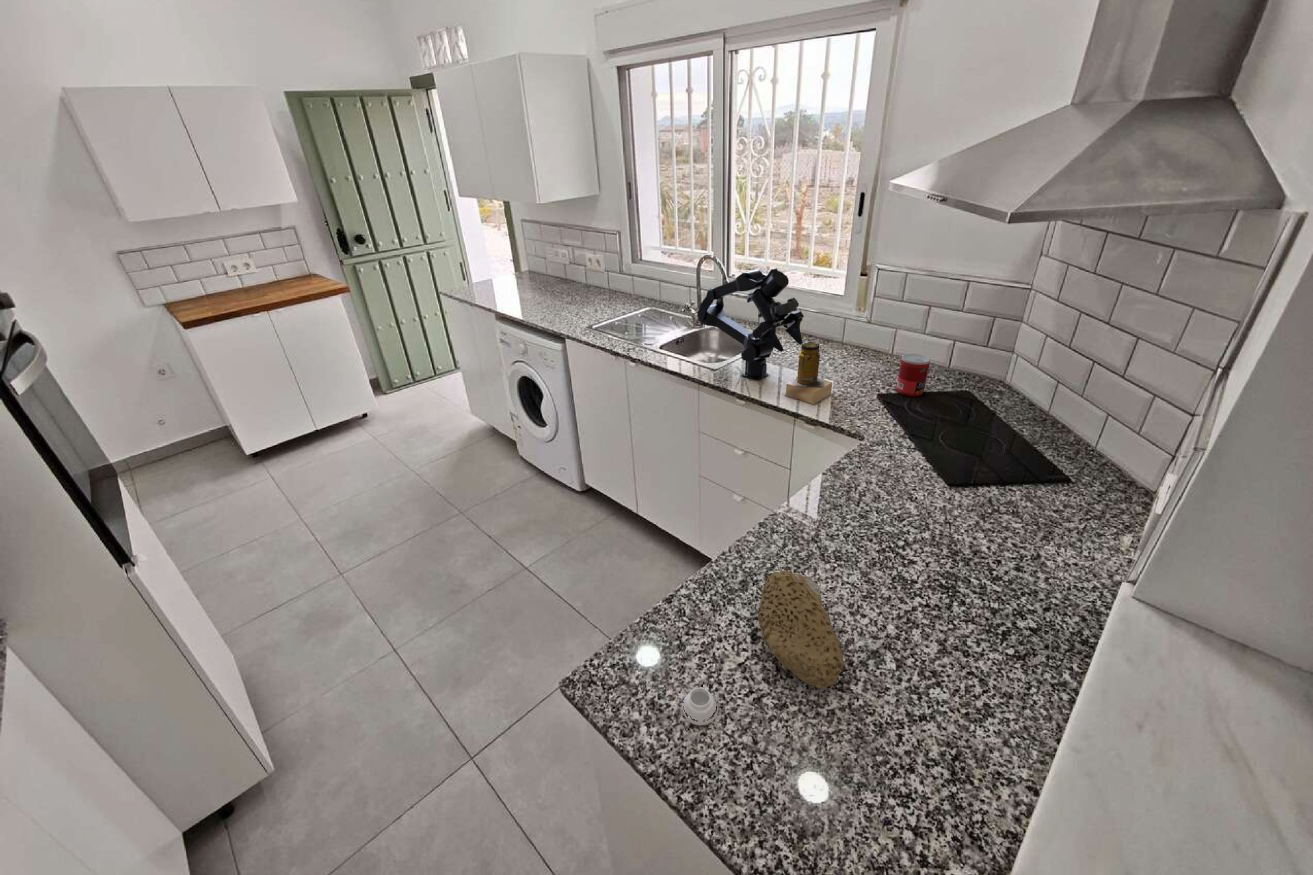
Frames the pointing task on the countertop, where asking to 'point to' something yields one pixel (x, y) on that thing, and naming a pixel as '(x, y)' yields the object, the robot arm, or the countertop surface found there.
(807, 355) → the condiment
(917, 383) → the canned food
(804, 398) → the block
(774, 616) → the sponge
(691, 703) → the white jar
